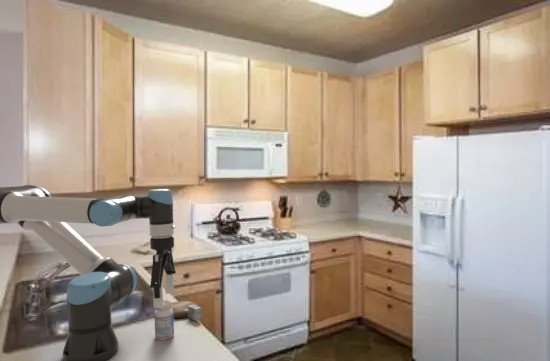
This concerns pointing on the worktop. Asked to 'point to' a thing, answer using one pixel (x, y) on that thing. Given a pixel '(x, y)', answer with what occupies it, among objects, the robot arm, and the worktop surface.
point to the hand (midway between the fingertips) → (164, 300)
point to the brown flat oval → (186, 310)
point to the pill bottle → (164, 321)
